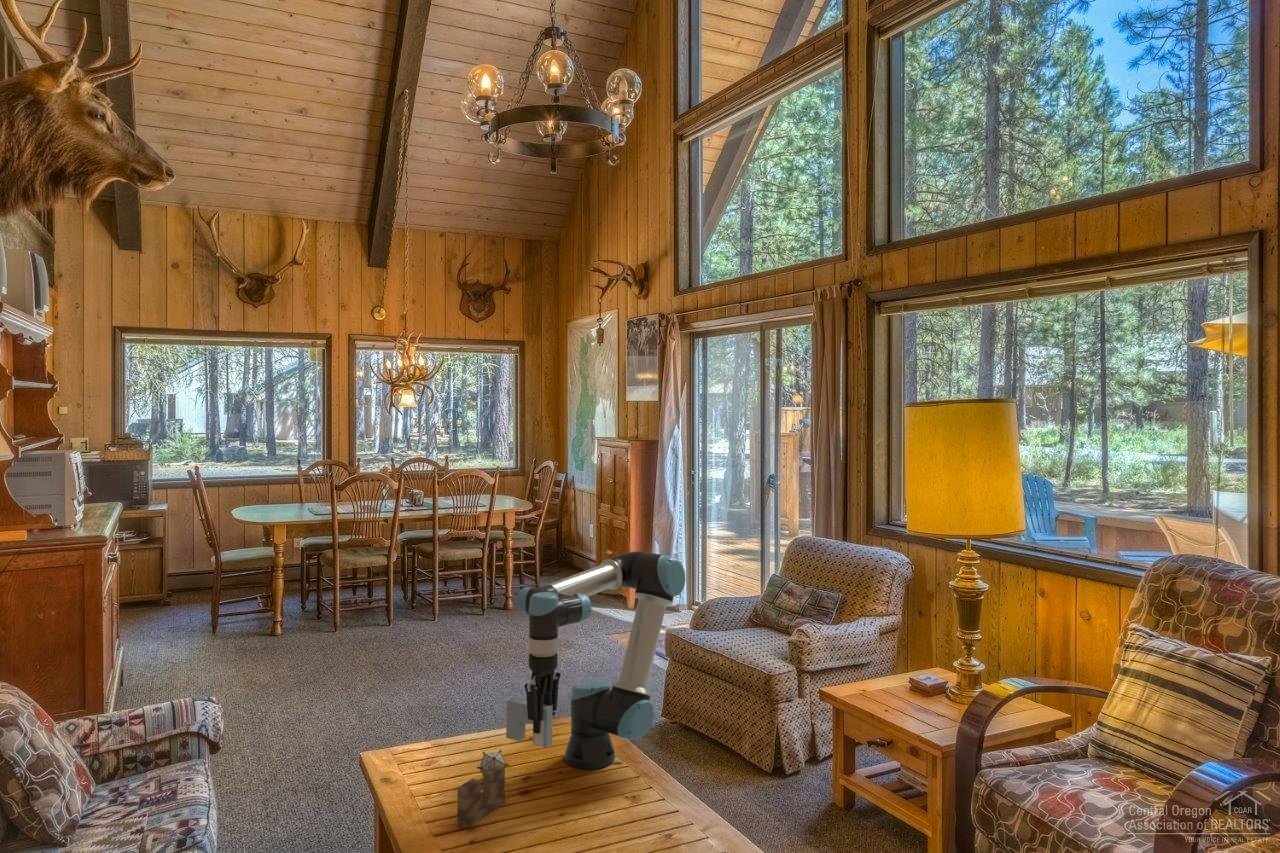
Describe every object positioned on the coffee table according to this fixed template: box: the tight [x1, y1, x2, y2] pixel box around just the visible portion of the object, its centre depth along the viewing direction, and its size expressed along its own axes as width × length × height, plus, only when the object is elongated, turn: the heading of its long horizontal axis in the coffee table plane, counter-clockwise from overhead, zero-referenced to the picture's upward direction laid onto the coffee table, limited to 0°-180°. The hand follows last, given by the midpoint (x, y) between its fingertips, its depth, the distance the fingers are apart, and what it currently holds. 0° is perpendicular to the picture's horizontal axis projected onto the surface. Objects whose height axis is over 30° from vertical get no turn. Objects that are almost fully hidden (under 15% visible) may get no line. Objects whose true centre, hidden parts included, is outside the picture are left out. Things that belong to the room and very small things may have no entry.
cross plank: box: [505, 697, 554, 748], centre depth 223 cm, size 2×13×10 cm, turn 62°
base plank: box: [456, 764, 506, 830], centre depth 220 cm, size 16×2×10 cm, turn 151°
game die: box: [476, 749, 510, 776], centre depth 240 cm, size 9×8×10 cm
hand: (542, 742), depth 221 cm, fingers closed on cross plank, 2 cm apart
